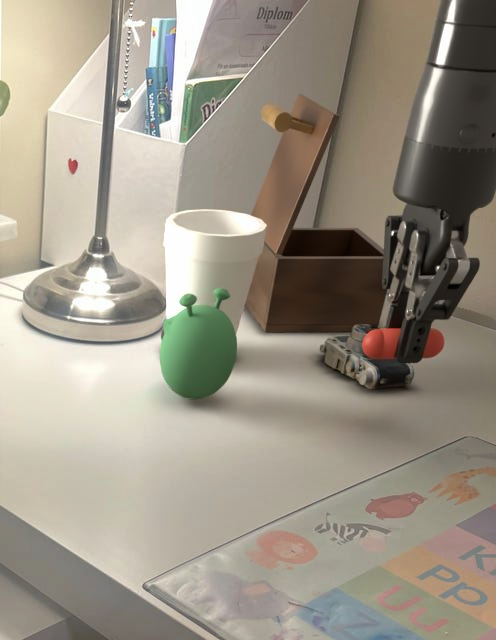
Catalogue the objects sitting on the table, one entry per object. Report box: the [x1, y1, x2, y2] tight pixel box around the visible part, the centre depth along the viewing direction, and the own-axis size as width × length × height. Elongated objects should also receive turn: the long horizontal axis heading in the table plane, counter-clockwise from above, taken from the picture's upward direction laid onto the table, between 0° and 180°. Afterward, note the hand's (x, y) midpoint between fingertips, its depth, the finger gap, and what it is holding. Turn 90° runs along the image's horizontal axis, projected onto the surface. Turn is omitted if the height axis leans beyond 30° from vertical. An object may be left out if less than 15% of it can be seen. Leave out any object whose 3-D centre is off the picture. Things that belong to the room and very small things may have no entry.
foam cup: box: [163, 208, 267, 334], centre depth 97 cm, size 10×9×13 cm
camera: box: [318, 324, 415, 390], centre depth 97 cm, size 5×10×4 cm, turn 15°
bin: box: [245, 227, 389, 333], centre depth 109 cm, size 13×12×8 cm
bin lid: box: [250, 93, 341, 255], centre depth 101 cm, size 13×12×5 cm
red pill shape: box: [362, 327, 445, 359], centre depth 84 cm, size 7×2×2 cm, turn 94°
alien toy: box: [159, 288, 238, 400], centre depth 90 cm, size 7×8×10 cm
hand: (400, 353), depth 84 cm, fingers closed on red pill shape, 2 cm apart
